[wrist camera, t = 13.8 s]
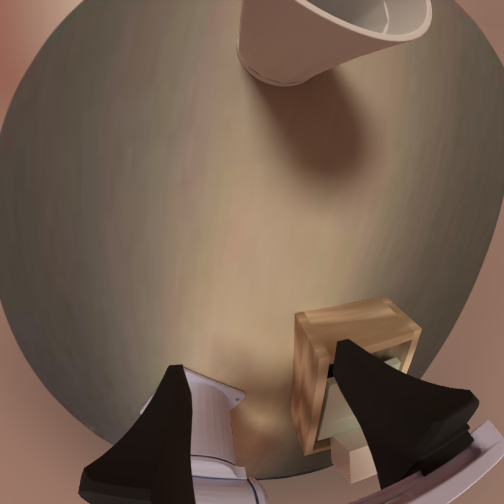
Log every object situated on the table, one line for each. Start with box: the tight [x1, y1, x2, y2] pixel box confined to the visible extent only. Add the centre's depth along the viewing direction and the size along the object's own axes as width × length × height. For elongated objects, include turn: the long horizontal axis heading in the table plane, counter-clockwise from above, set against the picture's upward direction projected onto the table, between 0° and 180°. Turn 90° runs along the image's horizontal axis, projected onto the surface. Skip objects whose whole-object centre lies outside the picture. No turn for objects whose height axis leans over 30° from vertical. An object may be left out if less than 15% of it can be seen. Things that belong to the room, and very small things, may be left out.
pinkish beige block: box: [330, 427, 377, 484], centre depth 20 cm, size 4×4×6 cm
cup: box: [236, 0, 432, 87], centre depth 10 cm, size 8×8×12 cm
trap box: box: [291, 296, 422, 456], centre depth 23 cm, size 15×9×6 cm, turn 4°
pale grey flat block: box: [316, 357, 401, 441], centre depth 22 cm, size 9×7×4 cm
